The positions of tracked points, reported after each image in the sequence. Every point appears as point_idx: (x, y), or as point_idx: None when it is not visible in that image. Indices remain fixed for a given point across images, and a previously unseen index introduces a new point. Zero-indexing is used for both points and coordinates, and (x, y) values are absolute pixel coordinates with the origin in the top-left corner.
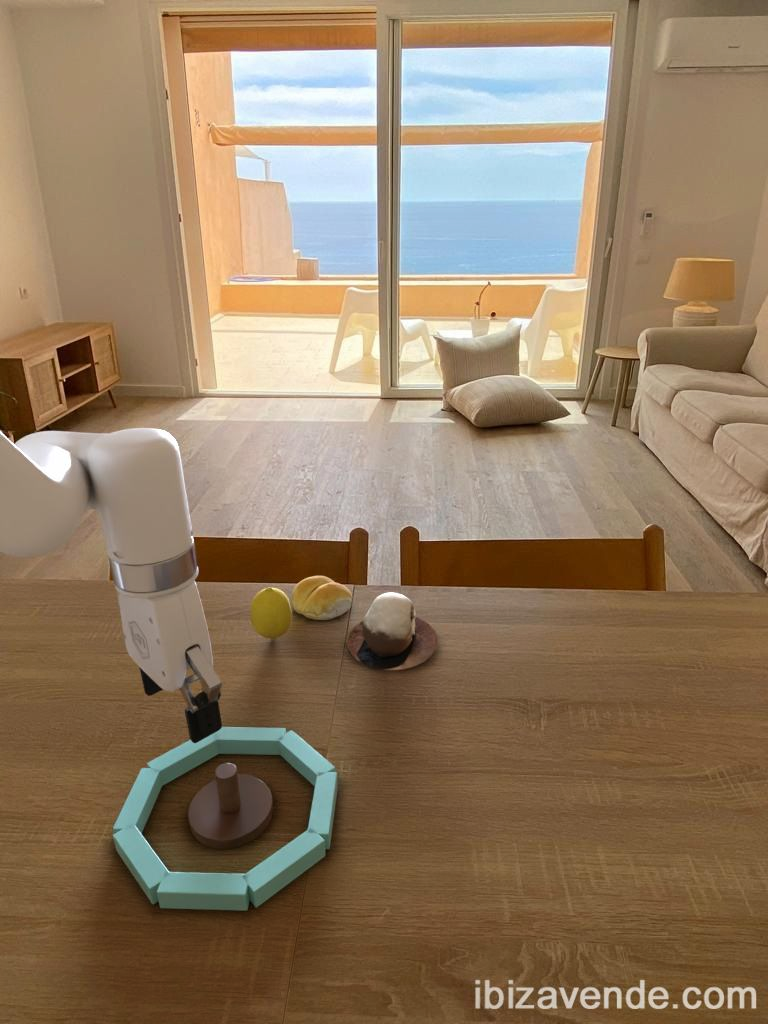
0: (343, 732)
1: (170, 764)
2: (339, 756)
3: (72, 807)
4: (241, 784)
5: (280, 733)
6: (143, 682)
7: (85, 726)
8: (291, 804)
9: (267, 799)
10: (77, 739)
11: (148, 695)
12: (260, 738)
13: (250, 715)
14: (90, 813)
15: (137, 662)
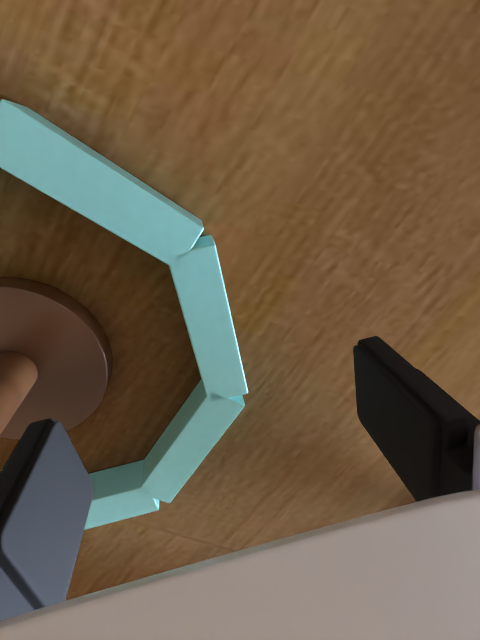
0: (147, 543)
1: (180, 294)
2: (95, 528)
3: (210, 24)
4: (67, 400)
5: (158, 494)
6: (395, 363)
7: (474, 132)
8: (11, 447)
9: (3, 431)
10: (445, 101)
11: (359, 341)
12: (164, 463)
13: (274, 440)
14: (165, 68)
15: (373, 552)
